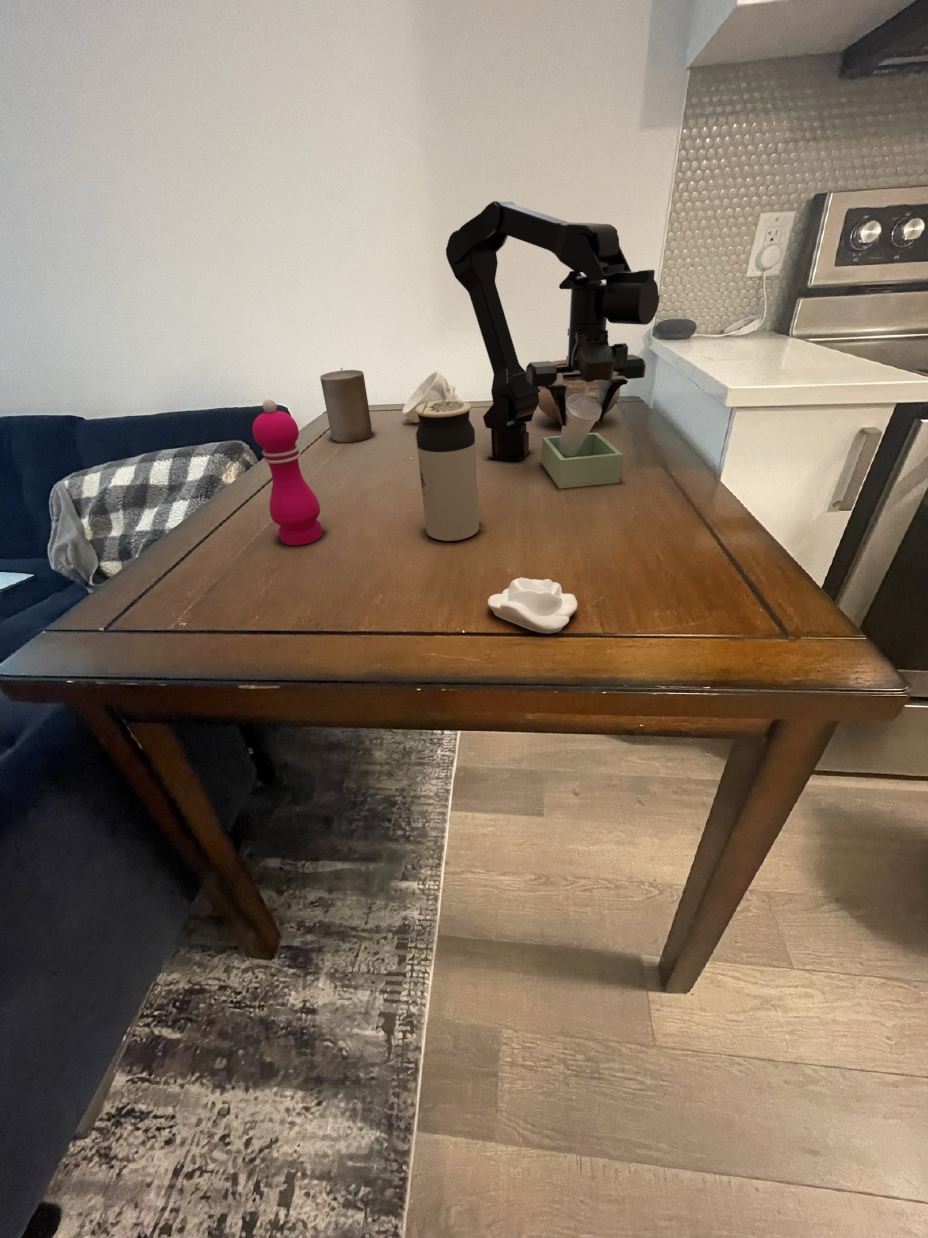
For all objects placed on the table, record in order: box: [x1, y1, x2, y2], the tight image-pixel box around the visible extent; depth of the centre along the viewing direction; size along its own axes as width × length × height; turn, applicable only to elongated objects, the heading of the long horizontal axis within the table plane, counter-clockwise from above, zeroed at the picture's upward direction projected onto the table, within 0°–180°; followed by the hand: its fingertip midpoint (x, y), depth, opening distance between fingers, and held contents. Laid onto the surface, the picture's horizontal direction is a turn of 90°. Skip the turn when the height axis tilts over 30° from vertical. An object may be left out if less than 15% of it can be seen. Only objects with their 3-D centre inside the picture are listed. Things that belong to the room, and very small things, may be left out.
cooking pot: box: [537, 359, 621, 424], centre depth 123 cm, size 25×19×12 cm
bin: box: [541, 431, 623, 489], centre depth 98 cm, size 14×11×5 cm
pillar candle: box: [319, 367, 374, 443], centre depth 123 cm, size 10×10×15 cm
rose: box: [487, 576, 578, 634], centre depth 61 cm, size 10×4×10 cm
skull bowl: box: [401, 370, 463, 424], centre depth 134 cm, size 10×14×12 cm
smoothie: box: [558, 383, 602, 456], centre depth 94 cm, size 6×6×14 cm
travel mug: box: [415, 399, 480, 542], centre depth 77 cm, size 8×8×18 cm
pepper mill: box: [252, 398, 323, 546], centre depth 78 cm, size 7×7×20 cm
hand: (581, 423), depth 94 cm, fingers closed on smoothie, 6 cm apart
